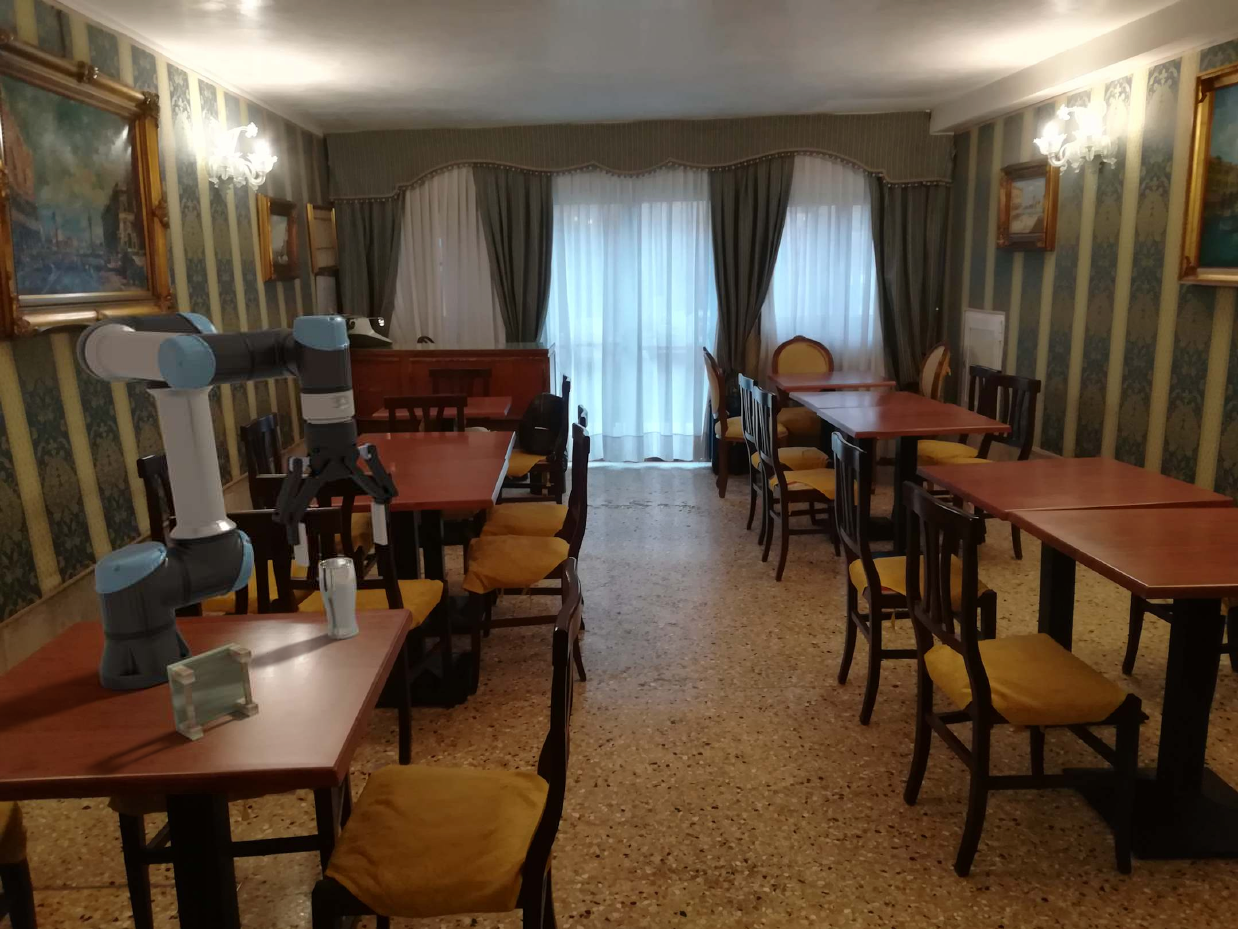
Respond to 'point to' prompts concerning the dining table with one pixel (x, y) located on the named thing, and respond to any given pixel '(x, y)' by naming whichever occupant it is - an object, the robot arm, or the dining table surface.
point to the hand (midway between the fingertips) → (343, 553)
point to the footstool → (210, 688)
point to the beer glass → (339, 596)
